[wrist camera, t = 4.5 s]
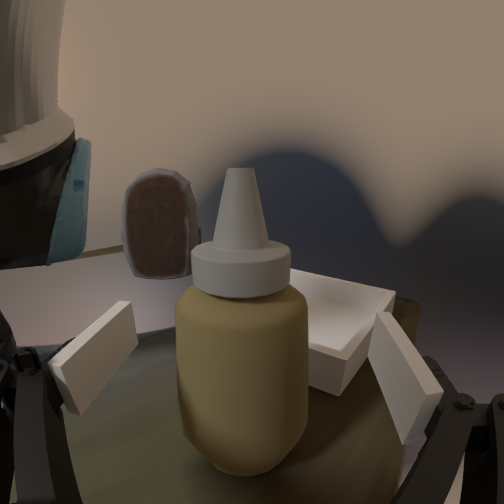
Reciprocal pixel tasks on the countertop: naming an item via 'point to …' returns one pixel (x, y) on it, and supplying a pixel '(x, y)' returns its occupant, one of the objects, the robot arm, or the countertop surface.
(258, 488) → the countertop surface
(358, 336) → the box
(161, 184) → the small grey backpack
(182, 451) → the countertop surface
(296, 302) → the squeeze bottle
